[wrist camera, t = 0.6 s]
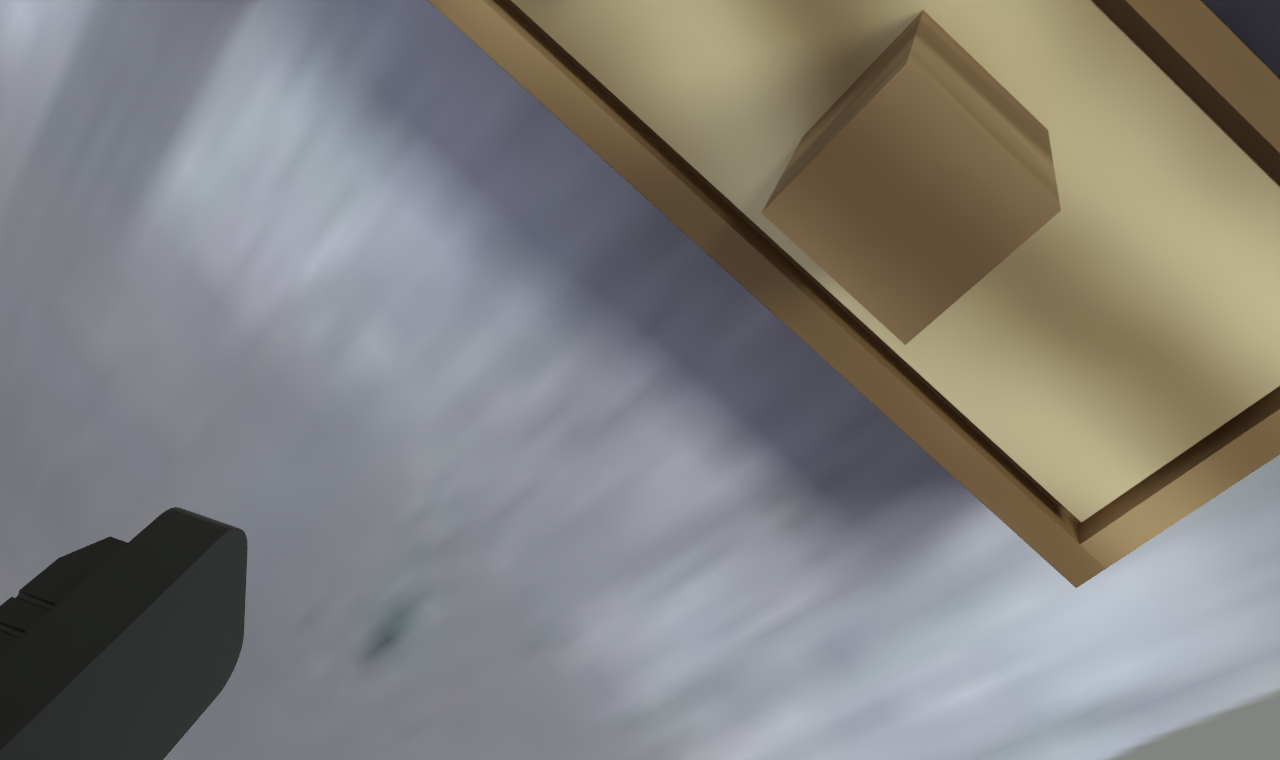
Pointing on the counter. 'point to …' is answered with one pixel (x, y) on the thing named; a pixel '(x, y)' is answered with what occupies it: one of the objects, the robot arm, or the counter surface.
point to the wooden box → (1276, 424)
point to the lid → (981, 205)
